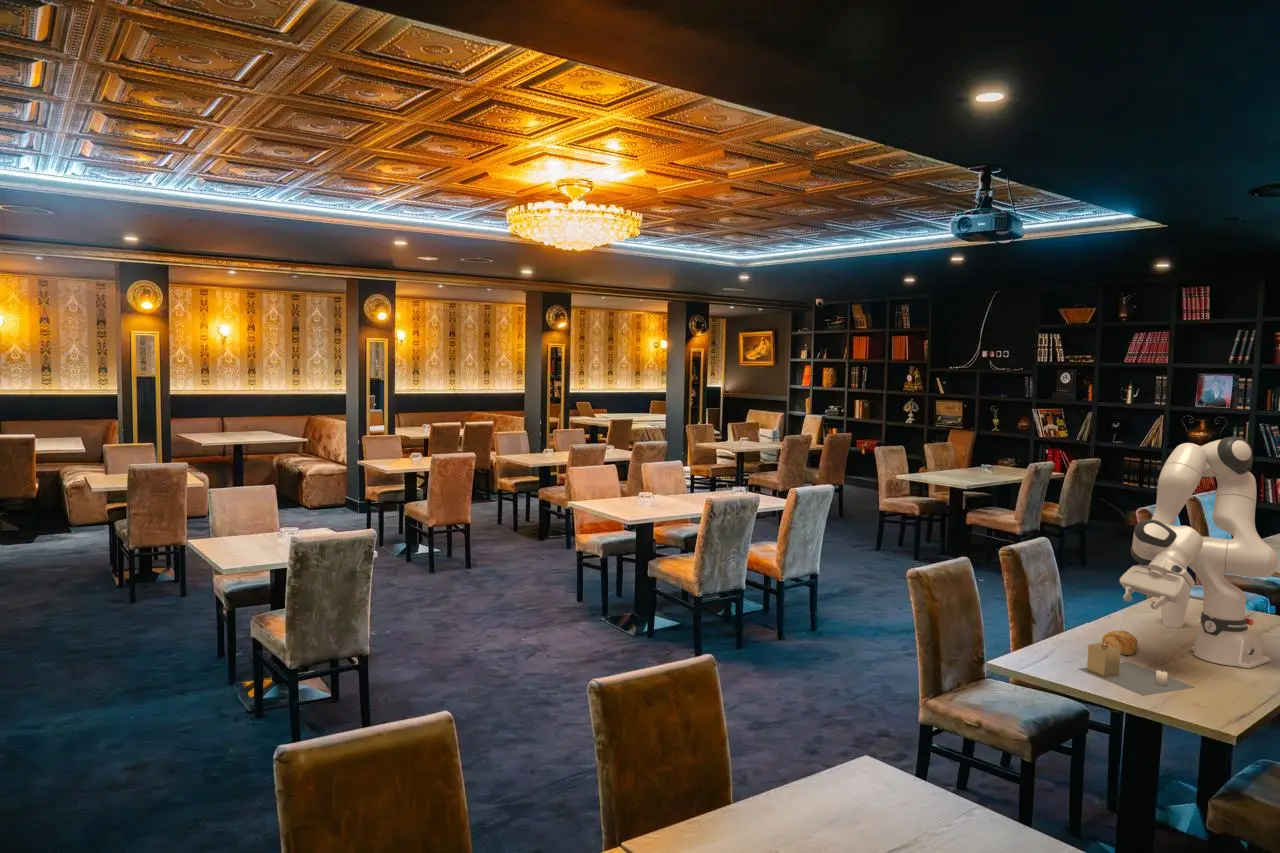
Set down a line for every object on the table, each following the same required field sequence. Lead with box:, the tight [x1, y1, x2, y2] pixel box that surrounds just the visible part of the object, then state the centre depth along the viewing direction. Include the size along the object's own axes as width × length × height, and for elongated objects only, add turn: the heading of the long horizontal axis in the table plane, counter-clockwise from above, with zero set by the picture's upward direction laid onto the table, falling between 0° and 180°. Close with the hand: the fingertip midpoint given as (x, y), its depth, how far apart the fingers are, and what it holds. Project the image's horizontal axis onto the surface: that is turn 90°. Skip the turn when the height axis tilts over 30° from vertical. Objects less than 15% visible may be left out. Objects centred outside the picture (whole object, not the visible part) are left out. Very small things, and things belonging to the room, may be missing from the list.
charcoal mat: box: [1078, 661, 1196, 697], centre depth 251 cm, size 21×22×1 cm
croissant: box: [1101, 630, 1138, 657], centre depth 277 cm, size 21×10×8 cm, turn 128°
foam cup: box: [1160, 592, 1191, 629], centre depth 307 cm, size 10×9×13 cm
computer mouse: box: [1155, 669, 1168, 686], centre depth 246 cm, size 3×3×4 cm
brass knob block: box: [1086, 642, 1121, 677], centre depth 254 cm, size 6×6×9 cm
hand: (1139, 603), depth 258 cm, fingers open, 8 cm apart
